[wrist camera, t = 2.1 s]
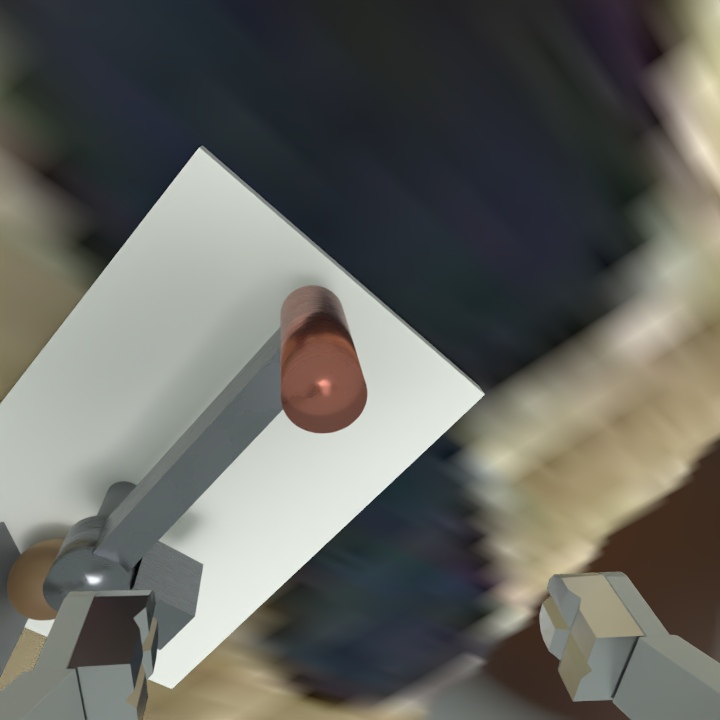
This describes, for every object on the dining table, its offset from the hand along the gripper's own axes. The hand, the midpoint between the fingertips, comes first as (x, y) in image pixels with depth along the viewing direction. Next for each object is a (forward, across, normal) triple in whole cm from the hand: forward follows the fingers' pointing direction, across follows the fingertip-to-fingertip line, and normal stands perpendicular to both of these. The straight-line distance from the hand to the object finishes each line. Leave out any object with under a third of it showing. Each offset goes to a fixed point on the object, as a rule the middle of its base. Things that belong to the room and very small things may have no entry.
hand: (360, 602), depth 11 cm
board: (+22, +7, +12) cm, 26 cm away
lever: (+17, +4, +8) cm, 19 cm away
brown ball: (+20, +15, +18) cm, 31 cm away
